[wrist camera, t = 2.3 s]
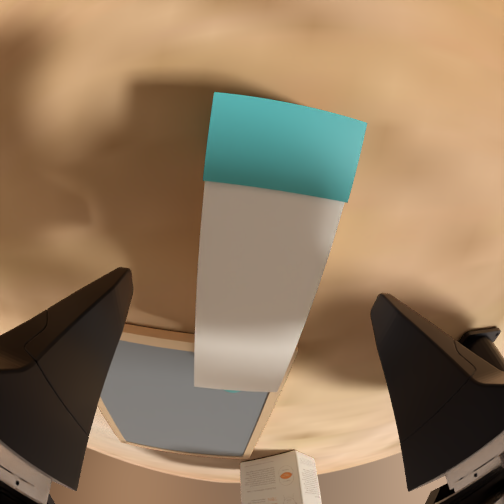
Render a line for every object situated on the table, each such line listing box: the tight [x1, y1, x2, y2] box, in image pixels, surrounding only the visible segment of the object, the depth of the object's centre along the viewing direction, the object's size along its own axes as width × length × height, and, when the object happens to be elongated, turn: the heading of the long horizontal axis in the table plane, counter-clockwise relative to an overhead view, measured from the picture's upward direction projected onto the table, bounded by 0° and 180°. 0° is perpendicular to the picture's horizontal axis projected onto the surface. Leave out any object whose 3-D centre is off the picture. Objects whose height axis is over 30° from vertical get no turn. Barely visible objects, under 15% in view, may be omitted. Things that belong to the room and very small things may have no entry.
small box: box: [240, 450, 322, 504], centre depth 23 cm, size 8×6×13 cm
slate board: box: [98, 324, 299, 459], centre depth 20 cm, size 15×21×1 cm
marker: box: [194, 92, 367, 393], centre depth 11 cm, size 4×14×4 cm, turn 171°
